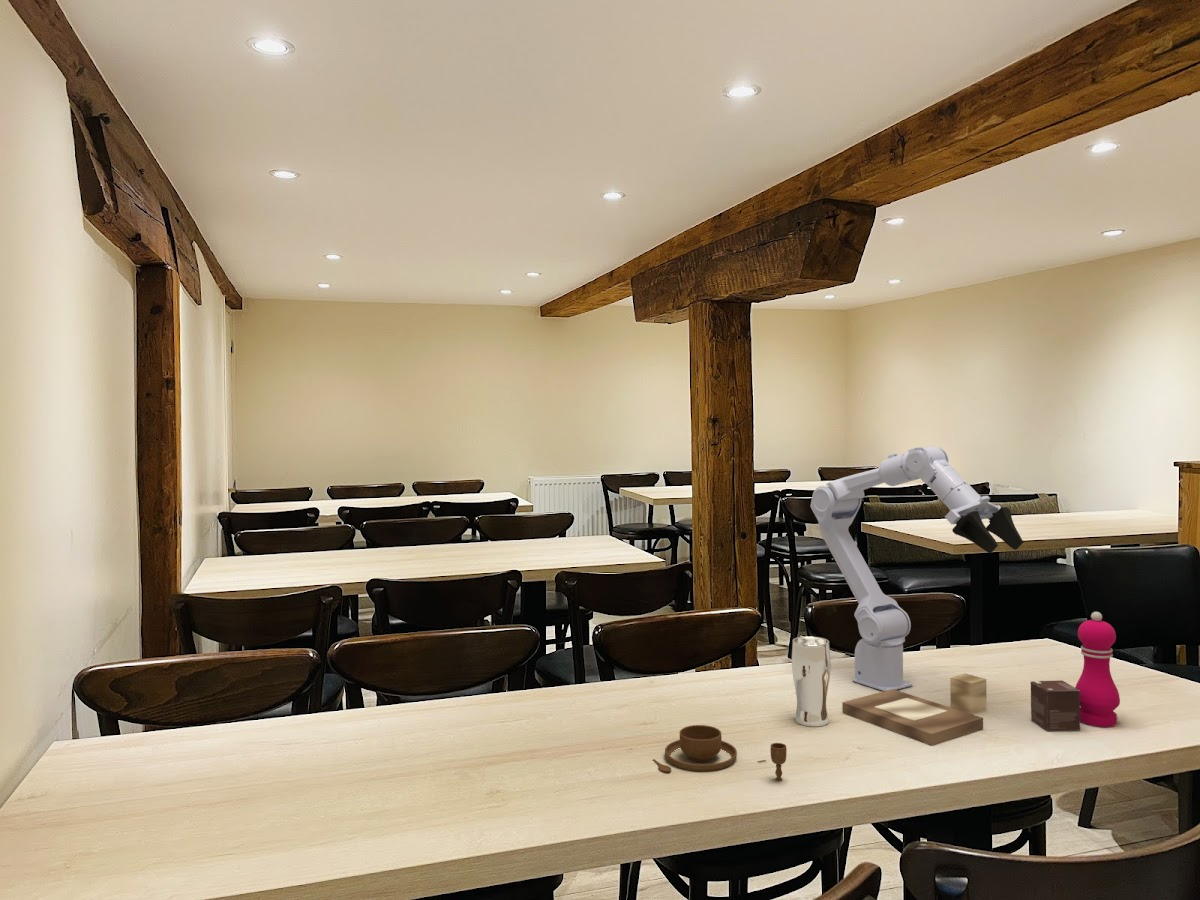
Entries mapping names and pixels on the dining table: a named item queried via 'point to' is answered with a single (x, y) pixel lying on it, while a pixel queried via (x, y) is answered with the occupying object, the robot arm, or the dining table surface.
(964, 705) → the maple block
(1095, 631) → the pepper mill
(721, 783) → the dining table surface
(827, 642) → the beer glass
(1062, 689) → the box
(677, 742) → the place setting
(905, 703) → the walnut board
